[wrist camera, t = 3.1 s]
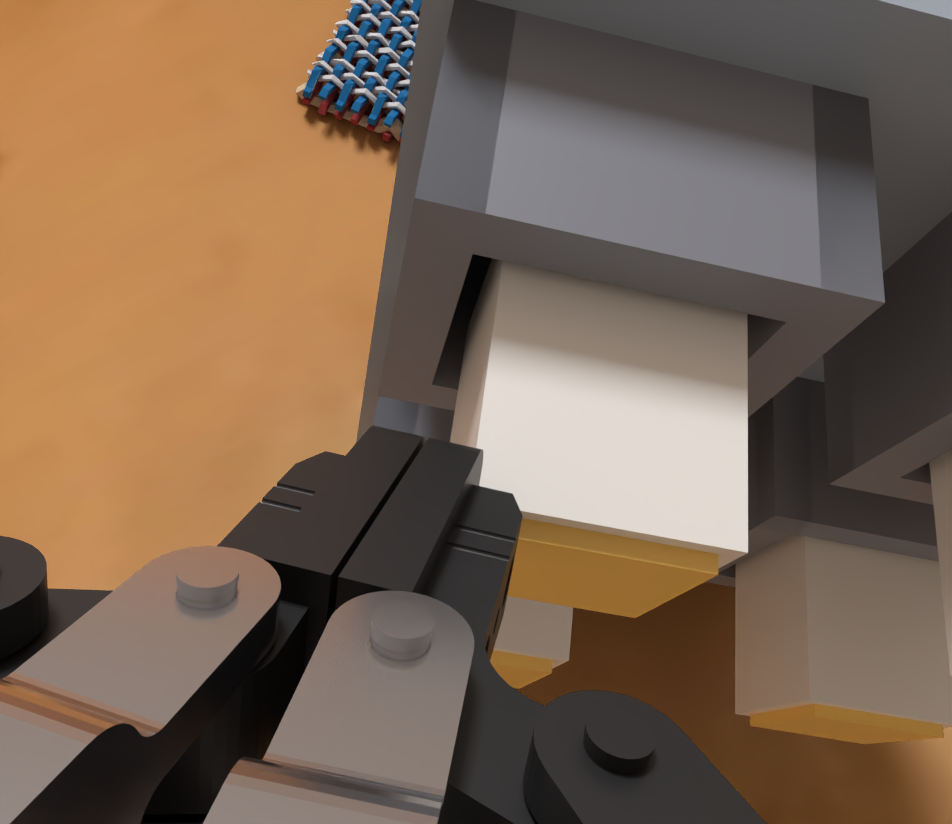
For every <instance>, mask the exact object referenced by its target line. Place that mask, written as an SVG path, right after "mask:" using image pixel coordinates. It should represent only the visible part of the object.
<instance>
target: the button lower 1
mask: <svg viewBox="0 0 952 824" xmlns="http://www.w3.org/2000/svg"><path fill="white" fill-rule="evenodd" d="M572 617H573V607H568V606H562V605H557V604H551V603H545V602H539V601H533V600H528V599H522V598H516V597H510V596H507V600H506V605H505V610H504V615H503V619H502V622H501V625H500V629H499V632H498V636H497V639H496V641H495V646H494V649H493V653H492V656H491V659H490V662H491V664H492V666H493V668H494V669H495V670H496V672H497V673H498V674H499V675H500V676H501V677H502V678H503V679H504V680H505V681H506V682H507V683H508V684H509V685H510V686H511V687H513V688H518V689H520V688H522V687H524V686H526V685H528V684H530V683H532V682H534V681H537V680H539V679H541V678H543V677H545V676H547V675H549V674H551V673H552V669H553V668H555V667H557V666H559V665H561V664H563V663H565V662H567V661H569V654H570V642H571V629H572Z"/></svg>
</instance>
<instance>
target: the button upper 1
mask: <svg viewBox="0 0 952 824" xmlns="http://www.w3.org/2000/svg"><path fill="white" fill-rule="evenodd" d="M450 442H451V443H456V444H460V445H465V446H469V447H474V448H478V449H483V464H482V471H481V477H480V483H479V486H481V487H486V488H490V489H494V490H499V491H503V492H508V493H512V494H513V495H514V498H515V500H516V502H517V504H518V507H519V509H520V511H521V513H522V516H523V517H522V523H521V528H520V533H519V538H518V543H517V548H516V554H515V559H514V564H513V569H512V574H511V579H510V585H509V590H508V595H507V596H510V597H516V598H522V599H528V600H533V601H539V602H545V603H551V604H557V605H562V606H568V607H574V608H580V609H585V610H591V611H597V612H603V613H608V614H614V615H620V616H626V617H632V618H636V617H638V616H640V615H642V614H644V613H646V612H648V611H650V610H652V609H654V608H656V607H658V606H659V605H661V604H663V603H665V602H667V601H669V600H671V599H673V598H675V597H677V596H679V595H681V594H683V593H684V592H686V591H688V590H690V589H692V588H694V587H696V586H698V585H700V584H702V583H704V582H706V581H708V580H709V579H711V578H713V577H715V576H717V575H718V569H719V568H721V567H722V566H724V565H726V564H728V563H730V562H732V561H734V560H735V559H737V558H739V557H741V556H743V555H745V554H747V553H748V329H747V313H742V312H737V311H733V310H728V309H724V308H719V307H714V306H710V305H705V304H701V303H696V302H691V301H687V300H682V299H678V298H673V297H668V296H664V295H659V294H654V293H650V292H645V291H641V290H636V289H631V288H627V287H622V286H618V285H613V284H608V283H604V282H599V281H595V280H590V279H585V278H581V277H576V276H571V275H567V274H562V273H558V272H553V271H548V270H544V269H539V268H535V267H530V266H525V265H521V264H516V263H512V262H507V261H502V260H498V259H493V258H492V259H491V262H490V265H489V268H488V271H487V274H486V276H485V279H484V282H483V285H482V288H481V291H480V294H479V296H478V299H477V302H476V305H475V308H474V311H473V313H472V316H471V319H470V322H469V325H468V329H467V335H466V342H465V348H464V354H463V361H462V367H461V374H460V380H459V387H458V393H457V399H456V406H455V412H454V419H453V425H452V432H451V438H450Z"/></svg>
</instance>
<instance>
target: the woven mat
mask: <svg viewBox="0 0 952 824" xmlns="http://www.w3.org/2000/svg"><path fill="white" fill-rule="evenodd" d="M421 2H422V0H414V1H413V0H351V2H350V4H351V5H353V7H351V8H350V9H347V10H346V11H345V13H346V16H347V18H348V20H343V21H339V22H337V23H335V24H336V26H337V27H338V32H337V31H336V30H333V33H334V34H335V36H336V37H335V39H330V40H328V41H326V42H329V43H333V44H331V45H330V46H329V47H327V48H326V49H325V51H324V52H322V53H321V54H319V55H318V56H317V57H316V59H317V62H314V63H312V65H317V66H315V67H314V69H313V70H312V71H310V70H309V69H308V72H307V73H308V74H309V77H308V78H309V80H308V82H307V83H304V84H302V85H301V86H299V87H297V90H296V93H297V94H298V96H299V97H300V98H301V99H302V103H304V104H307V105H309V104H311V105H314V106H316V107H318V108H319V109H318V112H317V113H319V114H321V115H324V116H325V115H326V113H327V111H328V112H330V113H332V114H334V118H336V119H339V120H341V119H342V118H344V119H347V120H349V121H350V123H352V124H354V125H356V126H357V124H358V125H361V126H363V127H365V128H367V129H366V130H369V131H371V132H374V131H375V132H377V133H383V132H384V133H383V136H382V140H384V141H387V142H389V141H390V140H391V139H392V137H393V136H394V137H395V138H396V140H397V141H398V143H400V144H401V137H402V131H403V124H402V122H401V120H402V121H404V117H405V110H406V104H407V97H408V90H409V83H410V77H411V70H412V63H413V56H414V50H415V43H416V36H417V29H418V23H419V16H420V9H421ZM366 13H368V14H366ZM382 19H383V20H382ZM381 20H382V22H380V21H381ZM411 32H414V34H413V36H412V35H411V34H410V33H411ZM388 39H389V40H388ZM349 41H350V42H351V43H350V44H349V45H348V46H347V44H348V43H349ZM404 47H407V49H406V50H405V51H404V52H403V51H401V49H402V48H404ZM380 54H381V55H382V56H381V57H380V59H379V60H378V59H377V58H378V56H379V55H380ZM342 56H343V57H342ZM394 61H396V62H394ZM355 63H357V64H356V67H353V66H354V64H355ZM371 69H372V70H375V71H374V72H370V70H371ZM386 76H388V77H389V78H388V79H386V78H385V77H386ZM345 80H347V81H346V82H345V83H344V84H343V82H344V81H345ZM322 85H324V87H323V88H322V89H321V91H320V93H319V94H318V95H317V92H318V91H319V89H320V88H321V86H322ZM402 86H405V88H404V90H402V89H400V88H399V87H402ZM337 93H339V94H340V96H339V99H338V101H337V103H335V102H333V99H334V97H335V96H336V94H337ZM352 100H354V101H355V102H354V104H353V105H352V107H351V109H350V108H348V107H349V105H350V104H351V102H352ZM391 100H393V101H394V102H391ZM372 105H373V109H372V112H371V114H370V116H366V115H364V114H365V112H366V111H367V110H369V109H370V107H371V106H372ZM384 113H385V114H388V115H387V117H383V118H382V116H383V114H384Z"/></svg>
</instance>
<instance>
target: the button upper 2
mask: <svg viewBox="0 0 952 824" xmlns="http://www.w3.org/2000/svg"><path fill="white" fill-rule="evenodd" d="M929 465H930V475H931V485H932V496H933V506H934V516H935V526H936V536H937V547H938V557H939V567H940V577H941V587H942V597H943V608H944V618H945V628H946V638H947V648H948V659H949V669H950V676H952V450H951V451H949V452H948V453H946V454H944V455H942V456H940V457H938V458H936V459H934V460H932V461H930V462H929Z"/></svg>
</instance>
